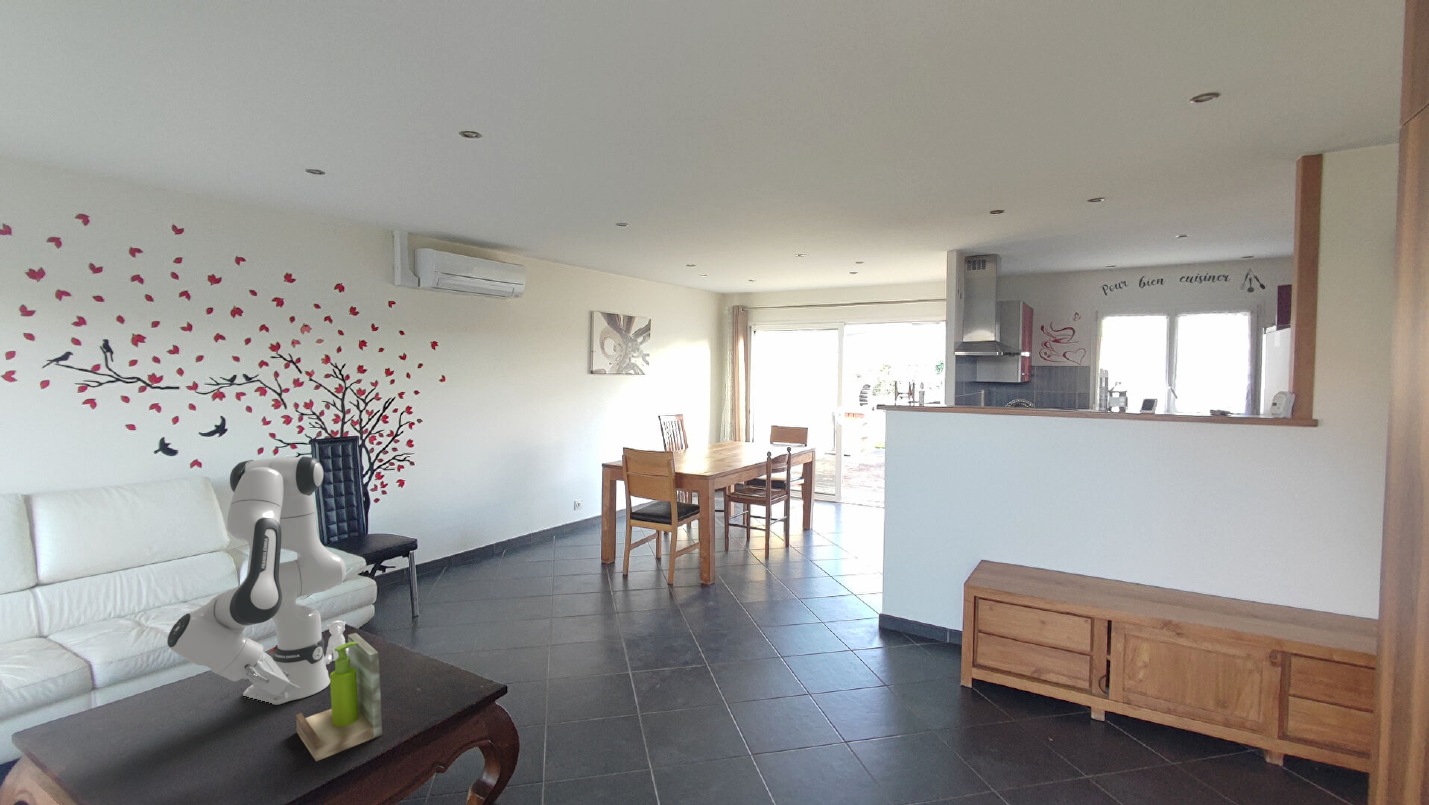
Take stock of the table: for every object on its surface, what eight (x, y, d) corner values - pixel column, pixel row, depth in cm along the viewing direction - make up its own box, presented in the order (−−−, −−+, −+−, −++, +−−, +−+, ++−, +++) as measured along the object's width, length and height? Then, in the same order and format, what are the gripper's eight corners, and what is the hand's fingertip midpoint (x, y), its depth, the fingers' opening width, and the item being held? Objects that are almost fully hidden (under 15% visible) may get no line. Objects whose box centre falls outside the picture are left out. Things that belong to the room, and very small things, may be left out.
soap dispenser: (366, 715, 167) (363, 642, 165) (341, 729, 160) (338, 653, 159) (352, 710, 169) (349, 638, 168) (327, 723, 163) (323, 649, 162)
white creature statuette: (323, 666, 201) (322, 629, 201) (317, 657, 207) (315, 622, 207) (356, 656, 208) (355, 621, 207) (349, 648, 214) (348, 614, 213)
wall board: (316, 761, 152) (311, 673, 151) (296, 732, 164) (292, 651, 163) (382, 734, 163) (378, 652, 162) (359, 709, 175) (355, 632, 174)
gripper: (262, 661, 142) (314, 686, 150) (244, 635, 156) (292, 660, 164) (239, 687, 139) (293, 712, 147) (222, 659, 153) (272, 683, 161)
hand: (292, 684), depth 156 cm, fingers open, 8 cm apart
